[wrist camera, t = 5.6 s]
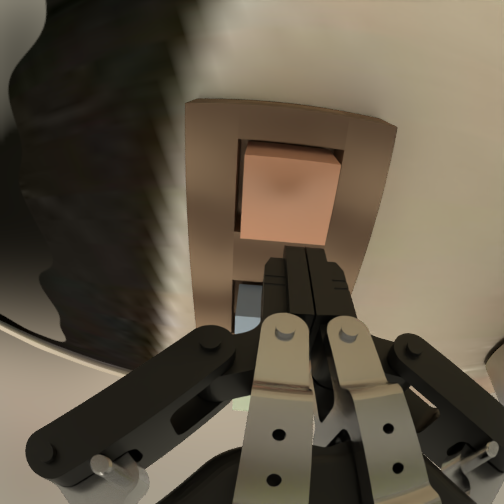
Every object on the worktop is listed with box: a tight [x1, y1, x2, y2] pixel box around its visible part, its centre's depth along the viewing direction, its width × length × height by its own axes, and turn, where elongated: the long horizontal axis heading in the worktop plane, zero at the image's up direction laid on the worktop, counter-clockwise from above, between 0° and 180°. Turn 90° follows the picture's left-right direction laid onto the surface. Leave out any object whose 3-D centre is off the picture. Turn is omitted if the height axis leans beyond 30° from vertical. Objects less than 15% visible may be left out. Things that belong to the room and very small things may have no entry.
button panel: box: [185, 99, 397, 389], centre depth 24 cm, size 30×12×3 cm, turn 176°
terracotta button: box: [240, 141, 341, 245], centre depth 17 cm, size 5×5×3 cm
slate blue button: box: [235, 284, 262, 334], centre depth 22 cm, size 5×5×3 cm
